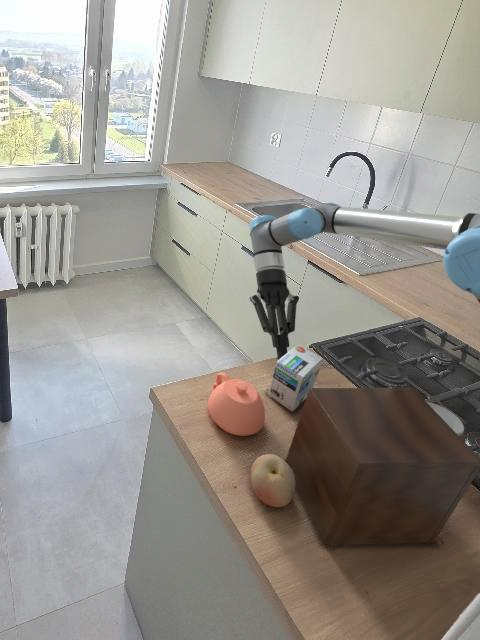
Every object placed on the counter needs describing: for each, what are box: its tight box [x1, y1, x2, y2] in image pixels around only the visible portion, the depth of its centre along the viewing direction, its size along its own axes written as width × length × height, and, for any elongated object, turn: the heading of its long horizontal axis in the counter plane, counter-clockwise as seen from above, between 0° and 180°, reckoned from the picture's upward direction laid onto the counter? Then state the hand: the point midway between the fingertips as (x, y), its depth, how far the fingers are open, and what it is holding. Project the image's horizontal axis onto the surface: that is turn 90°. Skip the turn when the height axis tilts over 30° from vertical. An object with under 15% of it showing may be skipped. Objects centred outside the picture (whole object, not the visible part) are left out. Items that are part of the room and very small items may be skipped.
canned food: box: [426, 401, 465, 439], centre depth 87 cm, size 8×8×11 cm
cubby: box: [284, 387, 480, 546], centre depth 75 cm, size 20×15×21 cm
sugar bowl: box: [207, 371, 266, 437], centre depth 94 cm, size 12×14×10 cm
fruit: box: [249, 453, 297, 508], centre depth 78 cm, size 8×8×8 cm
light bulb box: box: [267, 343, 324, 412], centre depth 101 cm, size 11×7×11 cm, turn 129°
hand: (283, 360), depth 106 cm, fingers closed
